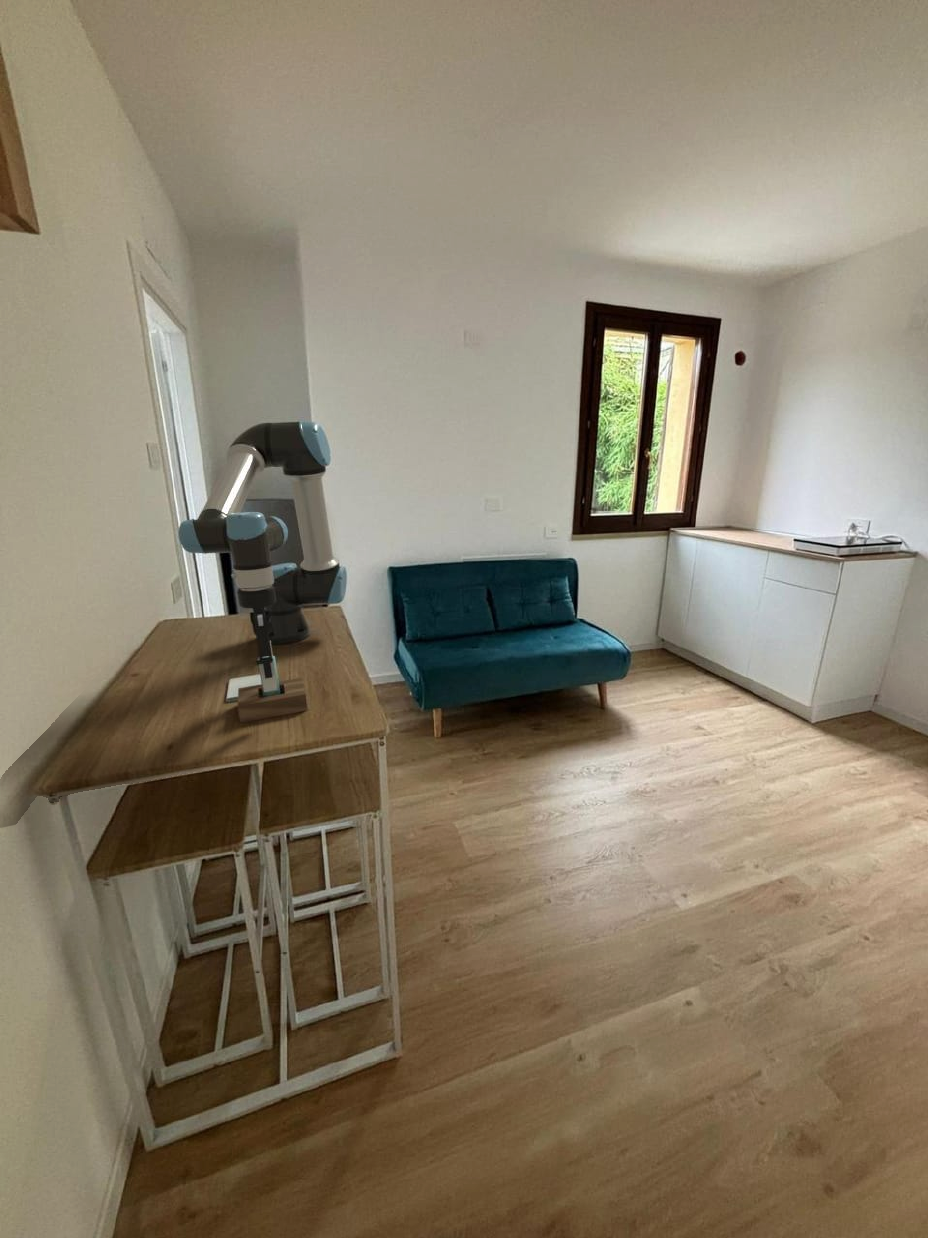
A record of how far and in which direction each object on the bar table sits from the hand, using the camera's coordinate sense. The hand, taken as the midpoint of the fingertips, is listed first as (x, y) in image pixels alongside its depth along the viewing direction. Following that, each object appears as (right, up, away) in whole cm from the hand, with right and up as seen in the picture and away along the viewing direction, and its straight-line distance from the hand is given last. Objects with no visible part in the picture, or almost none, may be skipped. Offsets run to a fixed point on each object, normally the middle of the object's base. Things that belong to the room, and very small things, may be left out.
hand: (269, 678), depth 115 cm
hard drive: (-10, -5, +12) cm, 17 cm away
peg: (0, -7, +2) cm, 7 cm away
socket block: (0, -7, +2) cm, 7 cm away
